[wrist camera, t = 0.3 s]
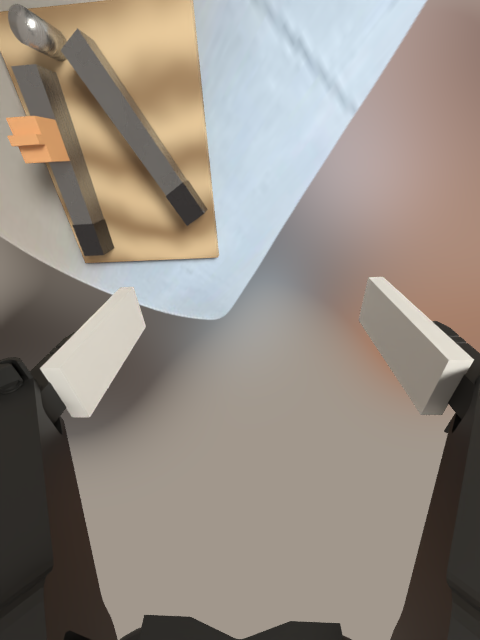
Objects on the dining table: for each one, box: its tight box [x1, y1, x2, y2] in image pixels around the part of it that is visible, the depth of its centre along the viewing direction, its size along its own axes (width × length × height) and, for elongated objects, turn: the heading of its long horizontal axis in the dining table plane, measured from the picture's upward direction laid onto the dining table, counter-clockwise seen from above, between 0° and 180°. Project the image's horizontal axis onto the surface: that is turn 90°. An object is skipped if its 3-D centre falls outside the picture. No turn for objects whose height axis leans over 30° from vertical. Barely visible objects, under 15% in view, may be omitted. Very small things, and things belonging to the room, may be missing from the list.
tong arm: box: [61, 28, 208, 226], centre depth 28 cm, size 18×3×3 cm, turn 33°
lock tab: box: [6, 116, 70, 163], centre depth 25 cm, size 4×3×4 cm
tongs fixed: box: [8, 4, 114, 256], centre depth 29 cm, size 22×5×4 cm, turn 3°
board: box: [0, 0, 219, 263], centre depth 31 cm, size 25×20×1 cm
